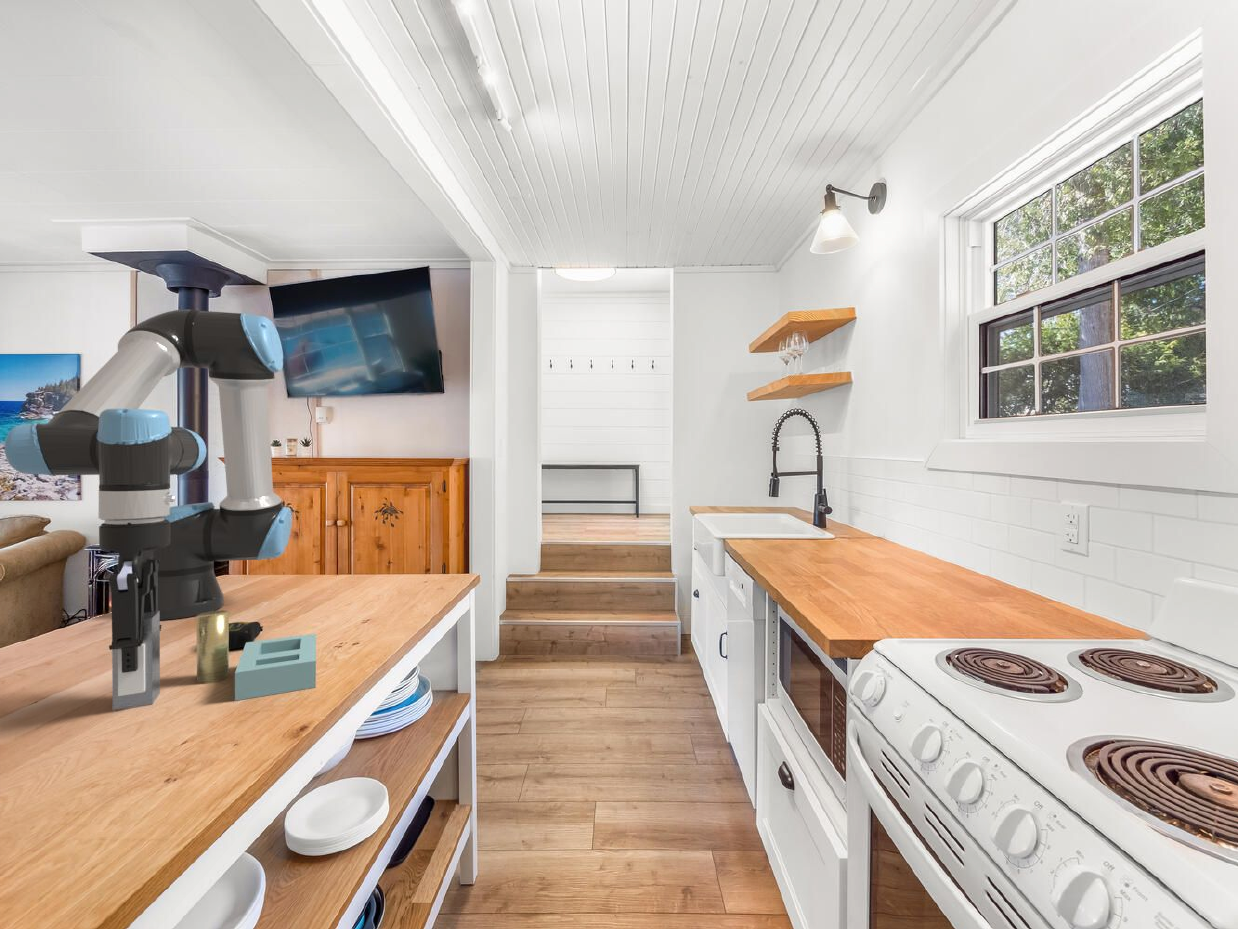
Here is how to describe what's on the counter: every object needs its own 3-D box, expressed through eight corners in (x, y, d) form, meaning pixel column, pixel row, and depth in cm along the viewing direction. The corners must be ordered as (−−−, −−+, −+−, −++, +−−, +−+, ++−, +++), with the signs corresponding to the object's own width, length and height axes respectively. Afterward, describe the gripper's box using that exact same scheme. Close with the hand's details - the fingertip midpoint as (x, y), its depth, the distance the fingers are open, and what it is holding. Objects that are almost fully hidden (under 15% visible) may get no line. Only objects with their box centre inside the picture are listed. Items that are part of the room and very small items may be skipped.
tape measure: (251, 651, 98) (251, 630, 98) (205, 655, 96) (205, 633, 96) (263, 638, 105) (263, 619, 105) (220, 642, 103) (220, 621, 103)
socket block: (246, 666, 91) (246, 642, 91) (315, 656, 95) (315, 633, 95) (234, 700, 78) (234, 672, 78) (315, 687, 83) (315, 660, 83)
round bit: (199, 675, 87) (199, 612, 87) (230, 671, 89) (230, 609, 89) (194, 685, 83) (194, 619, 83) (226, 680, 85) (226, 615, 85)
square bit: (122, 698, 79) (121, 614, 79) (160, 692, 81) (159, 610, 81) (112, 710, 75) (112, 622, 75) (152, 704, 77) (151, 618, 77)
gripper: (154, 526, 72) (155, 705, 72) (182, 512, 87) (183, 661, 87) (76, 529, 68) (77, 718, 69) (120, 515, 83) (121, 669, 84)
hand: (137, 686), depth 78 cm, fingers closed on square bit, 4 cm apart
